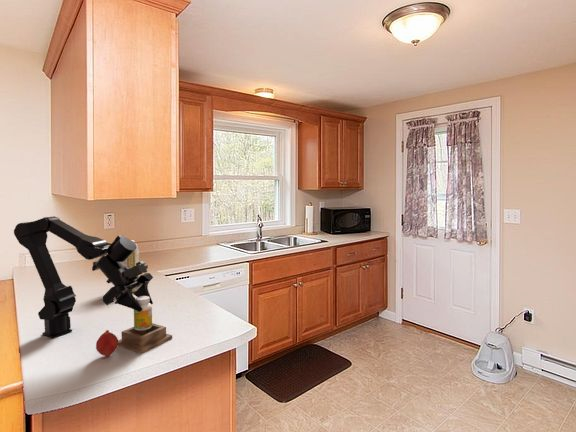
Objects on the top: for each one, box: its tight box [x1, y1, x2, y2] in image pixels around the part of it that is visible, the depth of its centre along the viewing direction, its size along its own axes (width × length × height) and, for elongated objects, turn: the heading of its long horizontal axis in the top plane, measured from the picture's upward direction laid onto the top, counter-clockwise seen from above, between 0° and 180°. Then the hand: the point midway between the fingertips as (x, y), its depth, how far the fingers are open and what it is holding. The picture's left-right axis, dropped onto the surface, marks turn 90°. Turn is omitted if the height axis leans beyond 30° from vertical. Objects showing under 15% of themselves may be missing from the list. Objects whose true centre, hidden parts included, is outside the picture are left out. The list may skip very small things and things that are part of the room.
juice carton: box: [120, 239, 140, 293], centre depth 167 cm, size 9×8×24 cm
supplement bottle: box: [133, 296, 153, 330], centre depth 112 cm, size 5×5×10 cm
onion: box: [95, 329, 119, 358], centre depth 103 cm, size 6×6×8 cm
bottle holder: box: [118, 322, 173, 354], centre depth 113 cm, size 12×12×4 cm
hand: (146, 307), depth 112 cm, fingers closed on supplement bottle, 5 cm apart
